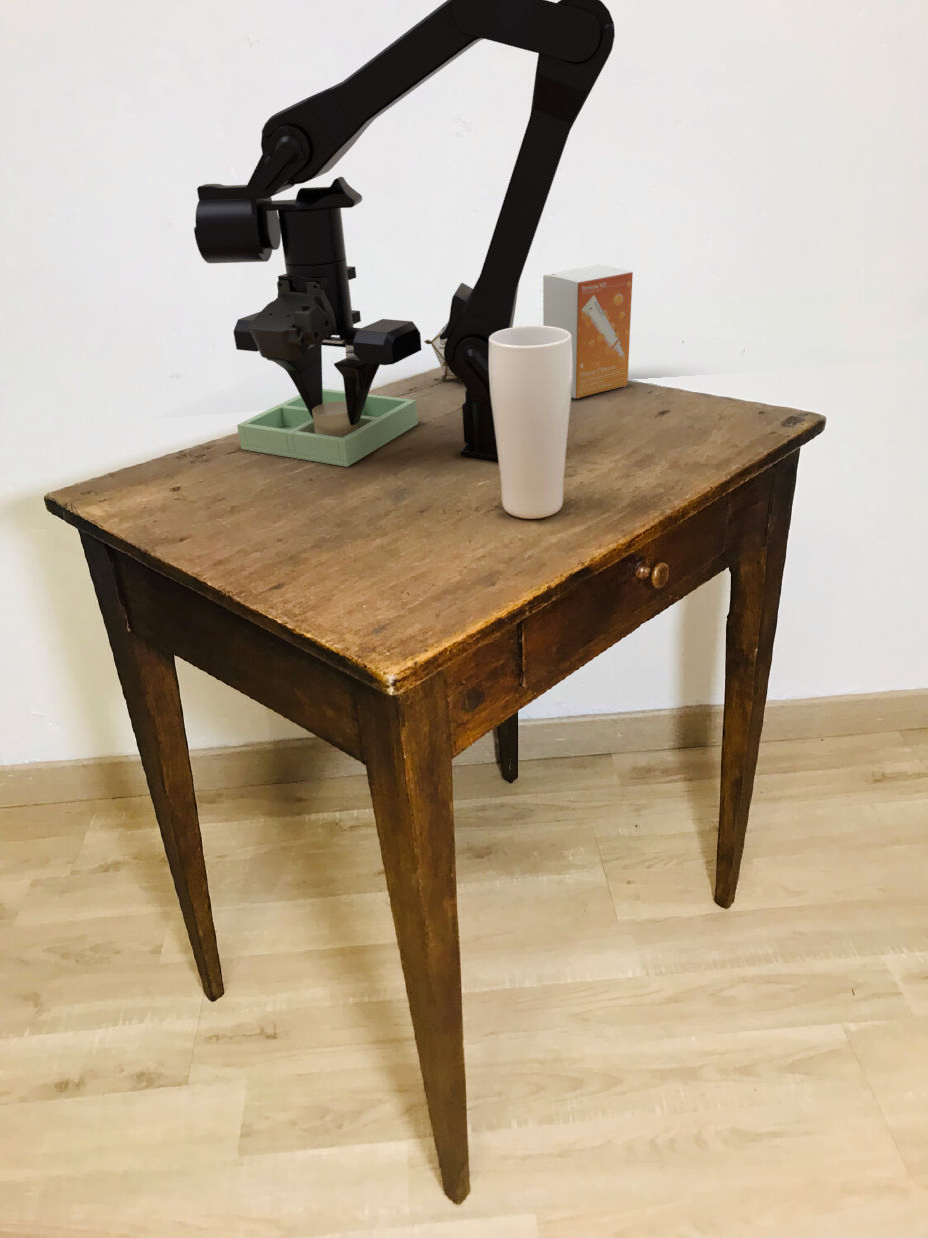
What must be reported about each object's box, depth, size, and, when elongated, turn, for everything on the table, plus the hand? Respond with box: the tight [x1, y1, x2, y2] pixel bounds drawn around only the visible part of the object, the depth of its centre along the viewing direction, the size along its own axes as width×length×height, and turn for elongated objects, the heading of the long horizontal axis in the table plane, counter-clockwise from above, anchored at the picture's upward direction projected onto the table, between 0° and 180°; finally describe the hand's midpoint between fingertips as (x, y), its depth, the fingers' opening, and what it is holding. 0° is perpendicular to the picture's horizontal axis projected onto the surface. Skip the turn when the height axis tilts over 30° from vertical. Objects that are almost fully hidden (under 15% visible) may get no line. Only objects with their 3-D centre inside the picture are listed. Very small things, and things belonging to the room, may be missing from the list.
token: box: [312, 402, 358, 437], centre depth 97 cm, size 4×4×2 cm
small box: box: [542, 264, 634, 400], centre depth 109 cm, size 8×6×13 cm
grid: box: [236, 387, 419, 468], centre depth 101 cm, size 14×14×3 cm
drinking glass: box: [488, 325, 573, 520], centre depth 79 cm, size 7×7×15 cm
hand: (335, 421), depth 97 cm, fingers closed on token, 4 cm apart
